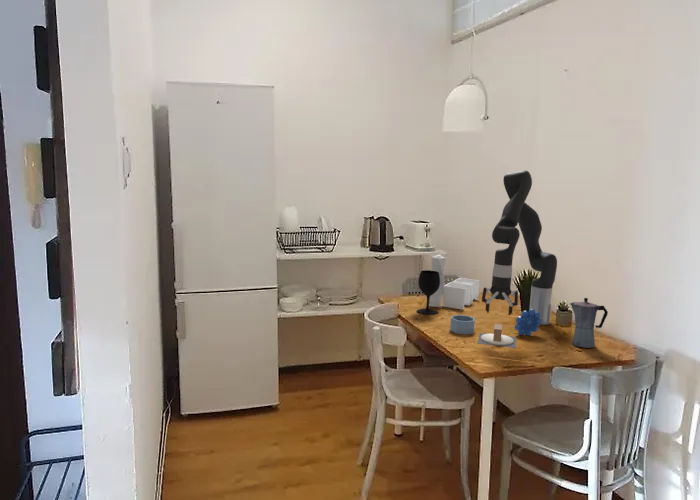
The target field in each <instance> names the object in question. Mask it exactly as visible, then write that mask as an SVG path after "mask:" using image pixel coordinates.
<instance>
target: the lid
mask: <svg viewBox="0 0 700 500" xmlns="http://www.w3.org/2000/svg"><path fill="white" fill-rule="evenodd" d="M502 330H503V324H501V323H500V324H499V323H494V328H493V333H484V335H482V336H481V340H482V341H484V342H486V343H490V344H494V345H510V344H512V343H513V339H512V338H511V337H512V336H510V337H509V335H505V334H502ZM494 345H493V346H494Z"/></svg>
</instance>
